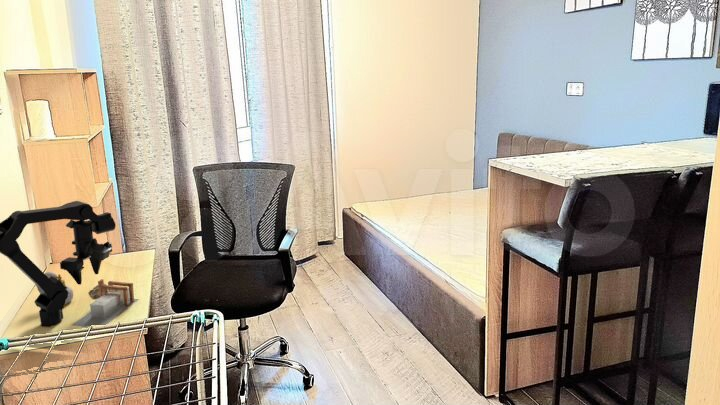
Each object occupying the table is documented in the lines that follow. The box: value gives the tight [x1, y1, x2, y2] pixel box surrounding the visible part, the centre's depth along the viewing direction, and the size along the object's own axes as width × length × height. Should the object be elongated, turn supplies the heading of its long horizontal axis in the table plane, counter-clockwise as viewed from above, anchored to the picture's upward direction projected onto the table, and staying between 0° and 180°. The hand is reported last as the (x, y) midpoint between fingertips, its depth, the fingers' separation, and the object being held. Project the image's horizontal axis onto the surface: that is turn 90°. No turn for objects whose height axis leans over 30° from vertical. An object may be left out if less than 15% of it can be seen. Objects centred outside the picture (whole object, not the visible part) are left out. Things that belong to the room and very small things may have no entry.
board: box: [71, 298, 140, 328], centre depth 181 cm, size 22×11×1 cm, turn 172°
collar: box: [102, 284, 129, 306], centre depth 185 cm, size 1×9×7 cm, turn 82°
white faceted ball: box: [44, 271, 74, 305], centre depth 185 cm, size 8×10×12 cm
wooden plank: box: [97, 278, 105, 298], centre depth 188 cm, size 2×1×9 cm, turn 172°
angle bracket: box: [107, 280, 135, 302], centre depth 188 cm, size 1×9×7 cm, turn 82°
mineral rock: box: [88, 283, 109, 299], centre depth 195 cm, size 11×4×8 cm
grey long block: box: [89, 287, 130, 319], centre depth 182 cm, size 15×5×5 cm, turn 172°
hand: (88, 279), depth 180 cm, fingers open, 9 cm apart
